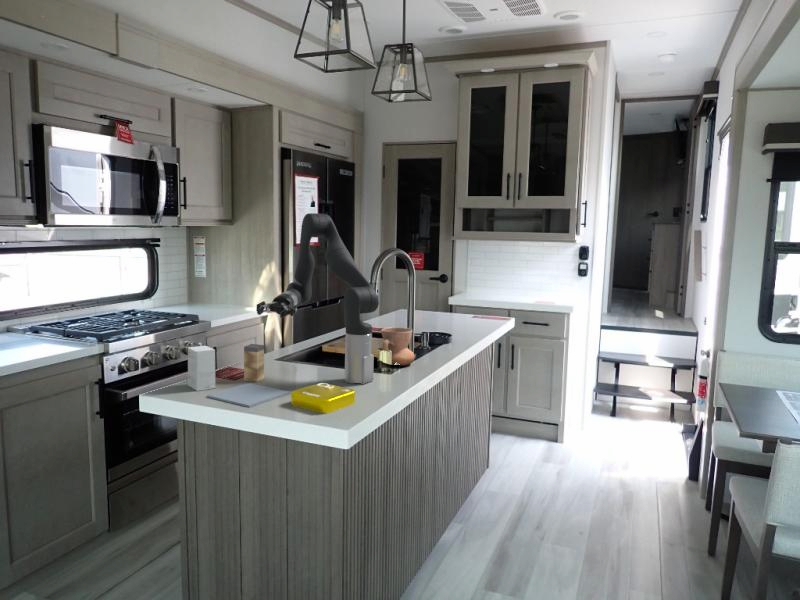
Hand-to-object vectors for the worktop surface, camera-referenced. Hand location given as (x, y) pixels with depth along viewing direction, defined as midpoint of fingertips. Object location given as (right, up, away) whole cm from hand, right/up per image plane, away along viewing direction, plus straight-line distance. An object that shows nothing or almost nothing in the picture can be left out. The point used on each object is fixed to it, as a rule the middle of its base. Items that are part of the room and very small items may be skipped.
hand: (270, 313), depth 213 cm
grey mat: (-1, -25, -26) cm, 36 cm away
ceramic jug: (+45, -21, +23) cm, 55 cm away
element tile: (+23, -27, -31) cm, 48 cm away
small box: (-19, -24, -18) cm, 35 cm away
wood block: (-4, -23, -7) cm, 24 cm away
